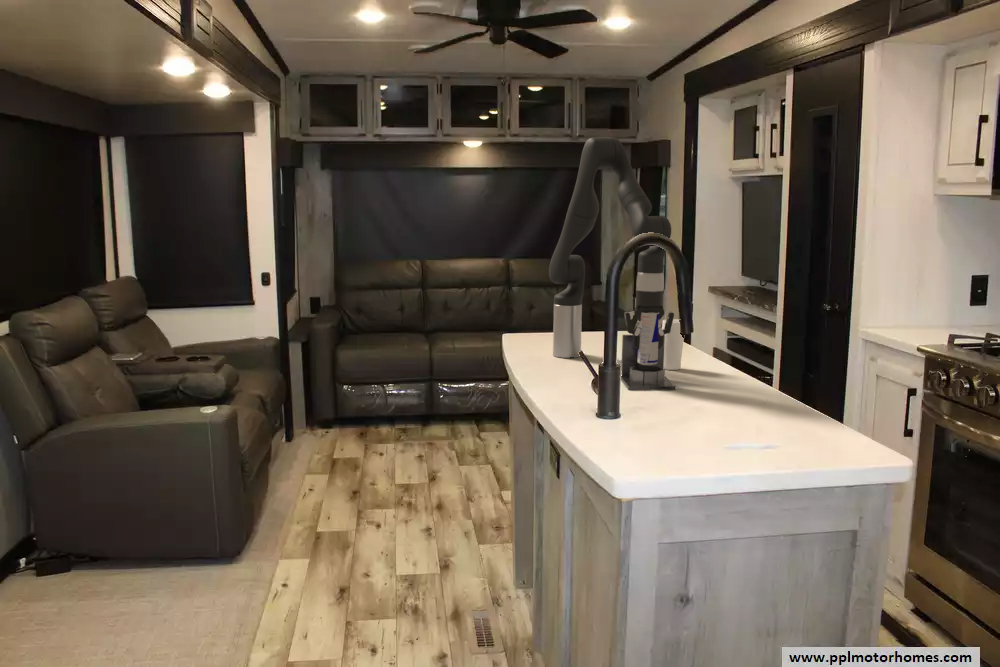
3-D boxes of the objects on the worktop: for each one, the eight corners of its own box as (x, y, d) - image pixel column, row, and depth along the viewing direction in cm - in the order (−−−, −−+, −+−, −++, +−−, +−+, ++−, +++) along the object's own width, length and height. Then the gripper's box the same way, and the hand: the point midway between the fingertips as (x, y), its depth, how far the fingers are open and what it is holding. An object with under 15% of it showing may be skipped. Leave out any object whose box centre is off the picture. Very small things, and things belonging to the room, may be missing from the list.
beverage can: (657, 366, 228) (659, 313, 226) (637, 365, 229) (638, 312, 227) (657, 362, 234) (659, 310, 231) (637, 361, 235) (639, 309, 232)
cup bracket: (619, 378, 239) (620, 334, 237) (663, 378, 240) (665, 334, 237) (628, 390, 225) (630, 343, 223) (675, 389, 226) (677, 343, 224)
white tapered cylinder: (681, 366, 256) (683, 319, 253) (684, 371, 249) (686, 322, 246) (659, 366, 256) (661, 318, 254) (661, 370, 250) (663, 322, 247)
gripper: (672, 287, 232) (669, 345, 235) (621, 287, 231) (619, 346, 234) (678, 290, 224) (676, 351, 227) (626, 290, 224) (624, 351, 227)
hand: (647, 348), depth 231 cm, fingers closed on beverage can, 5 cm apart
